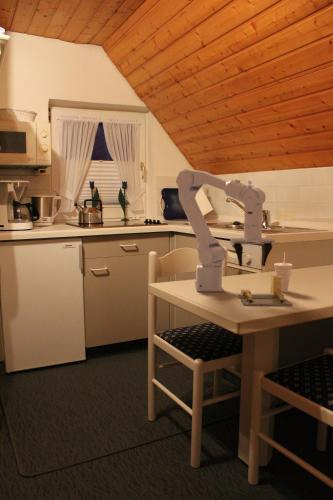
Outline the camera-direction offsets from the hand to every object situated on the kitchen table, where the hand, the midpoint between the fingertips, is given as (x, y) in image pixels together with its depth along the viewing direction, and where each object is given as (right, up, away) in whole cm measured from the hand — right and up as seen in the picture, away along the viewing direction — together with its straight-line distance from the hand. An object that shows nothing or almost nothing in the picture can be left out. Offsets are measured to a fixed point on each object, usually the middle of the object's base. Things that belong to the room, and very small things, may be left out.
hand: (251, 265), depth 141 cm
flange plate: (+3, -12, -8) cm, 14 cm away
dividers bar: (+3, -11, -4) cm, 12 cm away
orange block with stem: (+8, -10, -3) cm, 13 cm away
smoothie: (+13, -10, +9) cm, 18 cm away
